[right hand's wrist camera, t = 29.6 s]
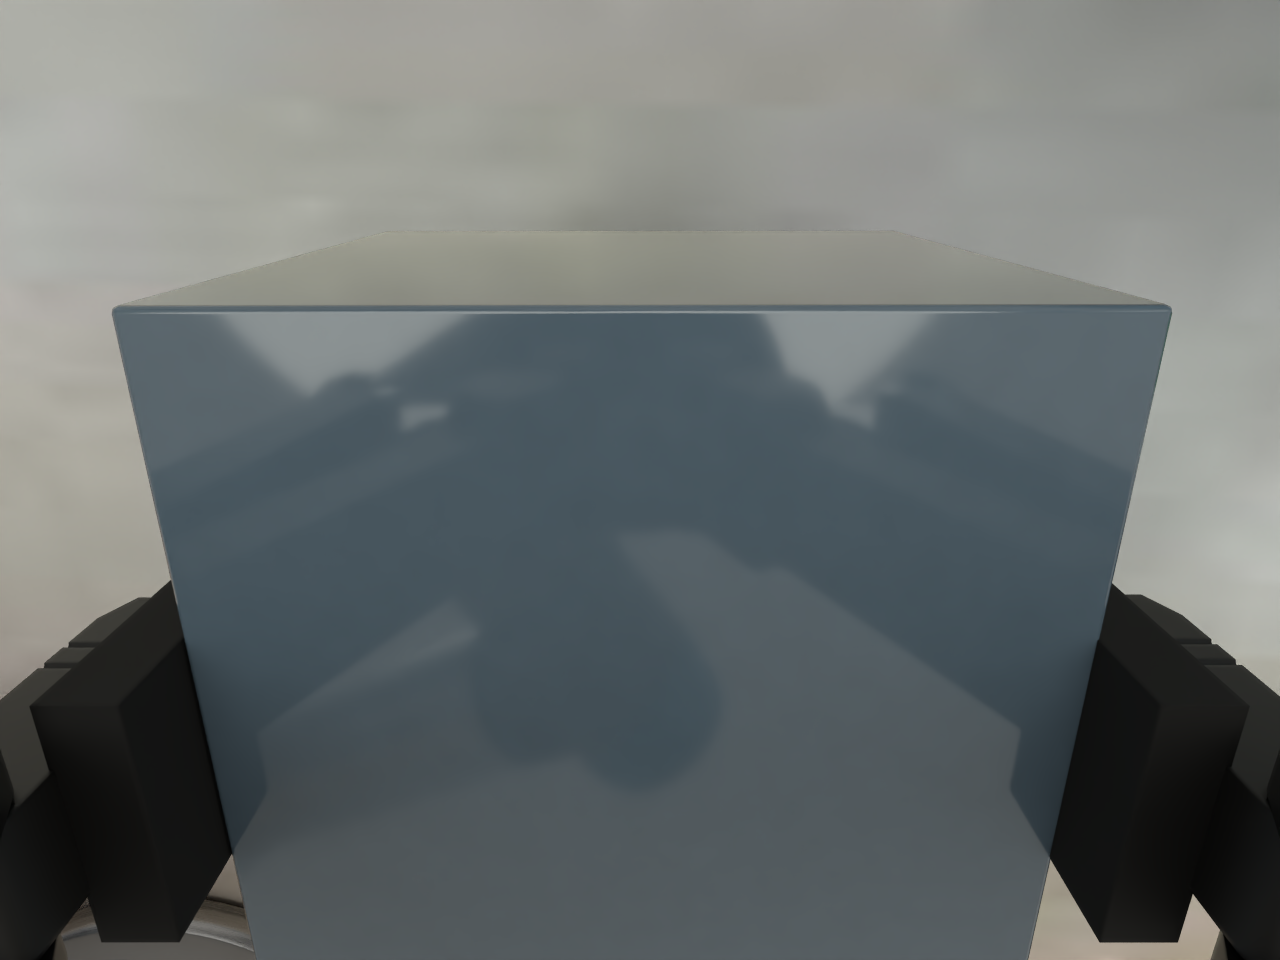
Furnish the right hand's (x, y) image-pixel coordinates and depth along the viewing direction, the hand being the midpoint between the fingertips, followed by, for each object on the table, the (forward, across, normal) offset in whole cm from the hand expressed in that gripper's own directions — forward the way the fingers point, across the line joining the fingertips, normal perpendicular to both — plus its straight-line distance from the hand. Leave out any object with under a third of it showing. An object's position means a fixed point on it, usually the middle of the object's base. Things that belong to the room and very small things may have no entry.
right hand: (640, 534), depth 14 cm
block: (+3, 0, 0) cm, 3 cm away
